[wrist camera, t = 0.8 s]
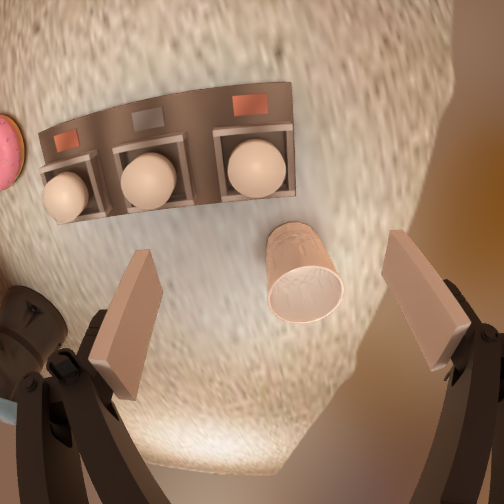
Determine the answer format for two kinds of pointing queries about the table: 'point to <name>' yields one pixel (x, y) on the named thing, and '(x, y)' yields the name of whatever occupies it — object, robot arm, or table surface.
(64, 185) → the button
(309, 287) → the tan paper cup
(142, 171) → the button mid
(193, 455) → the table surface
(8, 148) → the doughnut
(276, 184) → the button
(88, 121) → the panel
